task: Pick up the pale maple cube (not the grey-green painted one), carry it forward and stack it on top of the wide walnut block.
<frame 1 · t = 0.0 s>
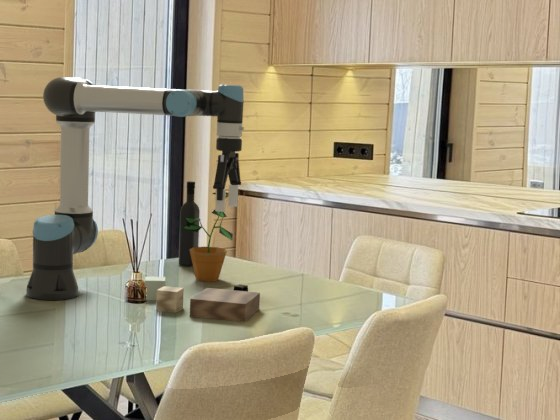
hand: (226, 209, 286), 28 cm above the table, fingers open, 13 cm apart
walnut block: (225, 312, 274), on the table
maple cube: (169, 309, 276), on the table
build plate: (240, 301, 294), on the table
wine bottle: (188, 265, 345), on the table
sage cube: (154, 298, 289), on the table
potted plant: (207, 279, 321), on the table
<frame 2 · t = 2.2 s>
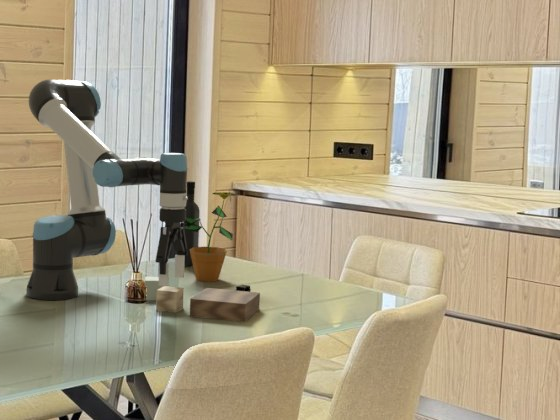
hand: (171, 281, 274), 8 cm above the table, fingers open, 13 cm apart
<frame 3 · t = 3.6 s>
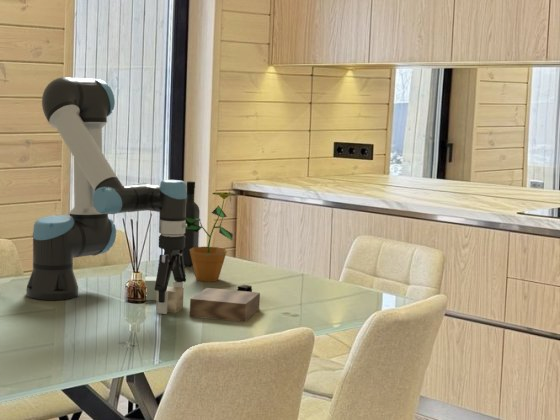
hand: (170, 308, 276), 0 cm above the table, fingers open, 12 cm apart
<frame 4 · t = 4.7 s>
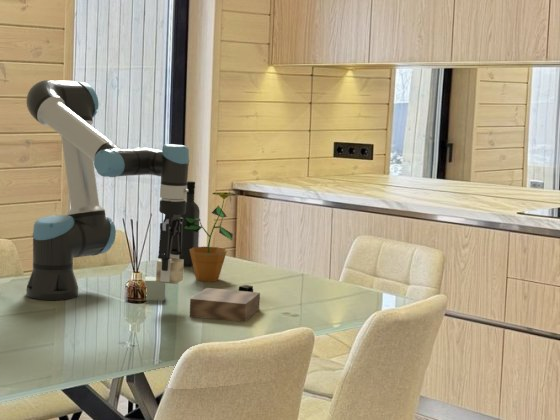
hand: (169, 279, 275), 9 cm above the table, fingers closed on maple cube, 6 cm apart
maple cube: (169, 280, 275), point 8 cm above the table, touching gripper
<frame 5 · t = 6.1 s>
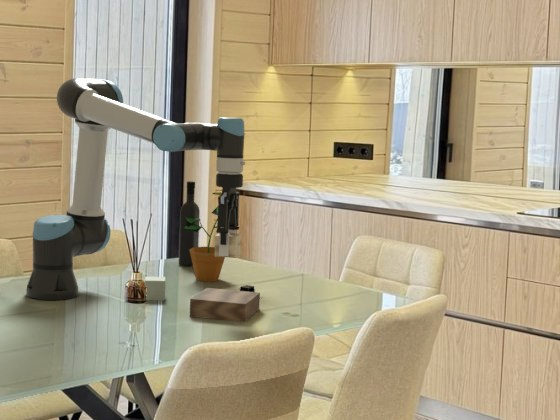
hand: (227, 254, 272), 17 cm above the table, fingers closed on maple cube, 6 cm apart
maple cube: (227, 255, 272), point 17 cm above the table, touching gripper
when the fingers open (6 cm above the table, at t = 7.8 s): maple cube stays where it is, resting on walnut block.
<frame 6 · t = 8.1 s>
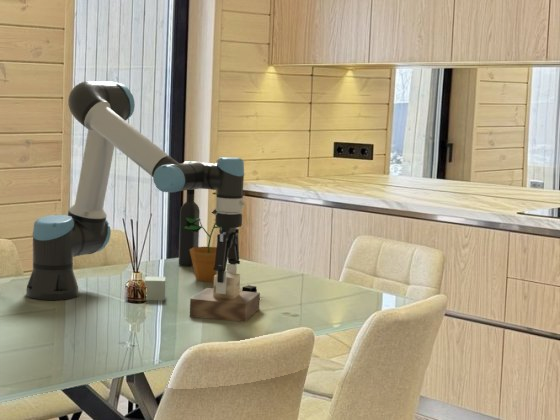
hand: (226, 289, 273), 7 cm above the table, fingers open, 10 cm apart
maple cube: (226, 295, 274), point 5 cm above the table, touching walnut block
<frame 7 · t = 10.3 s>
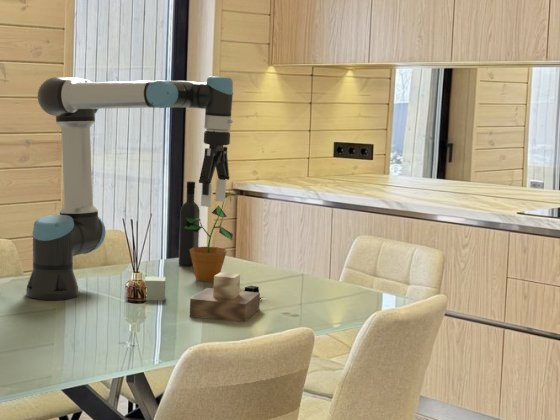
hand: (213, 203, 279), 30 cm above the table, fingers open, 13 cm apart
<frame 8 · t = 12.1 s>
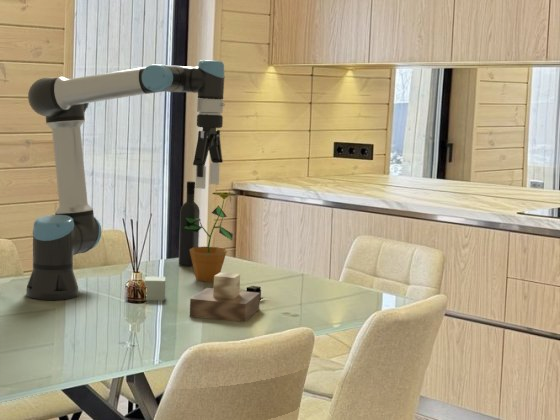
hand: (207, 186, 283), 35 cm above the table, fingers open, 13 cm apart
at the end: maple cube inside the target area on the walnut block (0.2 cm from its centre), point 5.0 cm above the walnut block's base; maple cube touching walnut block; sage cube moved 0.1 cm from its start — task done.
